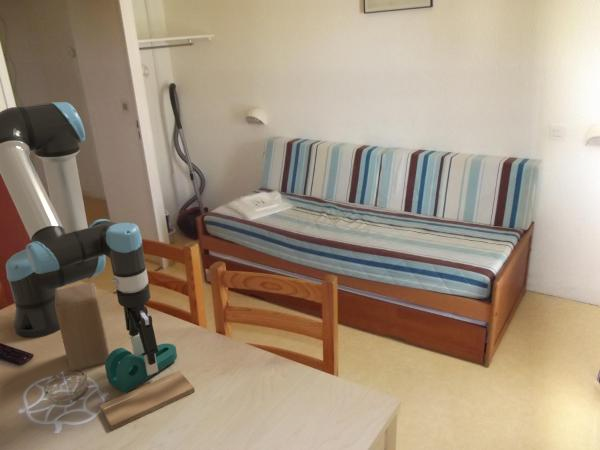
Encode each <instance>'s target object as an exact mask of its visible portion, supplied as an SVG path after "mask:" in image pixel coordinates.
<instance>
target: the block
mask: <svg viewBox="0 0 600 450" xmlns="http://www.w3.org/2000/svg"><path fill="white" fill-rule="evenodd" d="M55 310H56V314H57V318H58V323H59V327H60V329H59V331H60V334H61V339H62V343H63V346H64V350H65V355H66V358H67V362H68V363H67V365H68V368H69V369H70V371H72V372H75V371H79V370H83V369H87V368H90V367H94V366H99V365H102V364H105V362H106V359H107V357H108V356H109V354H110V351H109V345H108V341H107V334H106V329H105V325H104V321H103V320H104V319H103V315H102V311H101V306H100V300H99V296H98V290H97V287H96V284H95V283H94V282H89V283H84V284H79V285H74V286H69V287H65V288H60V289H59V288H58V289H57V291H56V292H55Z"/></svg>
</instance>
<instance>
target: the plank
mask: <svg viewBox="0 0 600 450" xmlns="http://www.w3.org/2000/svg"><path fill="white" fill-rule="evenodd" d="M194 392H195V387H194V386H193V384H192V383H190V381H189V380H188V379H187V378H186V377H185V375H184V374H183V373H182V372H181V371H180V370H177V371H175V372H173V373H171V374H168V375H166V376H164V377H161V378H159V379H156V380H154V381H152V382H150V383H148V384H147V383H146V384H145V385H143V386H141V387H138V388H136V389H134V390H130V391H128V392H126V393H123V394H122V395H120V396H118V397H115V398H113V399H110V400H109V401H106V402H104V403H102V404H100V405H99V407H100V411H101V412H102V414H103V416H104V418H105V419H106V421H107V423H108V424H109V426H110V428H111V431H113V430H115V429H118V428H120V427H122V426H124V425H126V424H129V423H131V422H133V421H135V420H138V419H140V418H141V417H143V416H146V415H148V414H150V413H152V412H153V411H156V410H158V409H161V408H163V407H165V406H167V405H170V404H171V403H173V402H176V401H177V400H179V399H182V398H184V397H186V396H188V395H190V394H192V393H194Z"/></svg>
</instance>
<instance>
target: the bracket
mask: <svg viewBox="0 0 600 450" xmlns="http://www.w3.org/2000/svg"><path fill="white" fill-rule="evenodd" d="M157 348H158V352H157V353H155V354H156V360H157V366H158V372H160V371H162V370H163V369H165V368H166V367H168V366H169V365H171V364H173V363H174V362H175V361H176V360H177V357H178V353H177V348H176V345H175V344H173V343H169V342H168V343H166V342H165V343H161V344H157ZM104 368H105V373H106V377H107V381H108V382H107V383H108V384H109V385H111V386H113V387H114V388H116V389H117V390H119V391H120V392H121V393H123V394H127V393H129V392H130V391H132V389H134V388H136V387H137V386H138V385H141V384H142V383H143V382H144V381H146V380H147V379H149V378H151V377H152V376H154V375H155V374H157V373H158V372H156V373H153V374H151V375H149V376H148V375H147V372H146V366H145V361H144V356H143V355H140V356H137V355H135V354H134V353H132V351H129V350H128V349H126V348H122V347H119V348H116V349H113V350H112V351H111V352H109V356H108V357H107V359H106V362H105V363H104Z"/></svg>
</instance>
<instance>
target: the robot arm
mask: <svg viewBox="0 0 600 450" xmlns="http://www.w3.org/2000/svg"><path fill="white" fill-rule="evenodd" d="M85 140H86V131H85V127H84V124H83V122H82V119H81V117H80V115H79V113H78V112H77V110H76V108H75V107H74V106H73V105H72V104H70V103H69V102H66V101H62V102H61V101H58V102H56V101H55V102H54V101H52V102H45V103H38V104H31V105H24V106H14V107H8V108H5V109H3V110H1V111H0V176H1V177H2V180H3V183H4V185H5V187H6V188H7V192H8V193H9V196H10V197H11V200H12V201H13V204H14V207H15V208H16V210H17V213H18V215H19V217H20V220H21V221H22V224H23V226H24V229H25V230H26V232H27V235H28V237H29V239H30V241H31V242H30V243H28V244H26V246H25V249H23V250H20V251H19V252H16V253H14V254H13V255H12V256H11V257H10V258H9V259H7V261H6V263H5V271H6V279H7V281H8V283H9V286H10V290H11V295H12V299H13V302H14V306H15V313H14V322H13V327H14V331H15V333H16V335H18V336H19V337H23V338H30V339H32V338H38V337H45V336H47V335H50V334H53V333H55V332H57V331H60V327H59V323H58V318H57V314H56V310H55V292H56V291H57V290H58V289H59V288H62V287H64V286H65V287H66V286H68V285H71V284H75V283H79V282H81V281H83V280H86V279H88V280H89V279H92V278H93V277H95V276H98V275H100V274H101V273H103V271H104V270H105V267H106V260H107V258H106V257H108V258H109V260H110V264H111V267H112V274H113V276H114V278H113V279H112V280H111V281H112V283H113V284H115V288H116V295H117V302H118V304H119V305H120V306H121V307H123V311H124V319H125V320H124V321H125V327H126V328H125V329H126V331H127V332H128V335H129V336H130V341H131V345H132V346H131V347H132V352H133V353H132V354H135V355H137V356H140V355H143V356H144V361H145V366H146V372H147V375H148V376H149V375H151V374H153V373H155V374H157V373H158V372H159V371H158V366H157V360H156V354H155V353H157V352H158V348H157V345H158V344H157V343H158V342H157V339H156V336H155V330H154V327H153V326H154V325H153V317H152V315H148V308H147V306H146V304H147V303H148V302H149V301H150V299H151V290H150V285H149V276H148V270H147V266H146V261H145V260H146V259H145V253H144V247H143V237H142V235H141V231H140V228H139V226H138V225H137V224H136V223H133V222H119V223H118V222H115V221H112V220H110V219H107V218H99V219H96V220H94V221H93V222H92V223H91V224H90V225H89V226H88V220H87V215H86V210H85V209H86V207H85V203H84V198H83V192H82V188H81V187H82V186H81V182H80V175H79V169H78V163H77V160H76V159H77V158H76V157H77V155H78V154H79V152H81V148H80V144H82V143H84V142H85ZM31 151H33V152H34V156H35V157H37V158H38V159H40V160H41V161H42V165H43V170H44V174H45V180H46V185H47V188H48V193H47V191H46V189H45V187H44V184H43V183H42V179H40V177H39V175H38V174H39V173H38V172H37V170H36V169H35V166H34V165H33V162H32V160H31V158H30V154H31ZM48 194H49V195H48ZM156 372H157V373H156Z"/></svg>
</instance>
